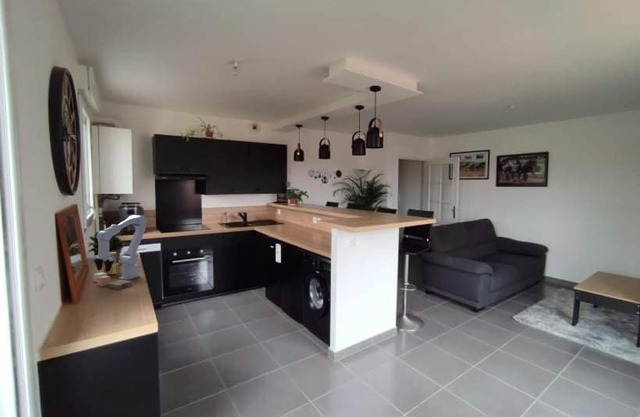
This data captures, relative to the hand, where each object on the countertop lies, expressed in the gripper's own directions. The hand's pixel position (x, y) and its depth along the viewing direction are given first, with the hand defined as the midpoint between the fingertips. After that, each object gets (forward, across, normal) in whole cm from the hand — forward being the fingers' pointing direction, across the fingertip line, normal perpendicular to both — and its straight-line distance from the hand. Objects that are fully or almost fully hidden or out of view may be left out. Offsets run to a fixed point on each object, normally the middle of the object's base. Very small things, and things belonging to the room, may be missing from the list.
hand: (103, 270), depth 193 cm
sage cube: (+9, -9, +4) cm, 13 cm away
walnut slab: (+9, +12, +2) cm, 15 cm away
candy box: (+9, -20, +17) cm, 28 cm away
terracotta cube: (+9, 0, 0) cm, 9 cm away
